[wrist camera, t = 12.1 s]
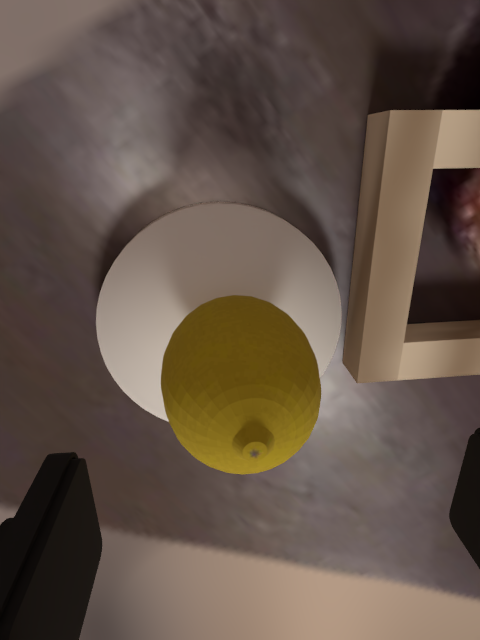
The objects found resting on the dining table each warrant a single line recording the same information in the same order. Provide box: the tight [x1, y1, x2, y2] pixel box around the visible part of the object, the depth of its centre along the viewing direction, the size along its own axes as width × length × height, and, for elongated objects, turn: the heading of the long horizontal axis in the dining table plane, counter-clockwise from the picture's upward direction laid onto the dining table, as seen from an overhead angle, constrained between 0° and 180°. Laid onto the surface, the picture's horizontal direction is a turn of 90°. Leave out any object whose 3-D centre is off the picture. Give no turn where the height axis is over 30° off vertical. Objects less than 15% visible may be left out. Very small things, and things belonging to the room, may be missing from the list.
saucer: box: [96, 201, 342, 422], centre depth 18 cm, size 11×11×1 cm
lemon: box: [161, 295, 321, 474], centre depth 14 cm, size 6×6×8 cm
